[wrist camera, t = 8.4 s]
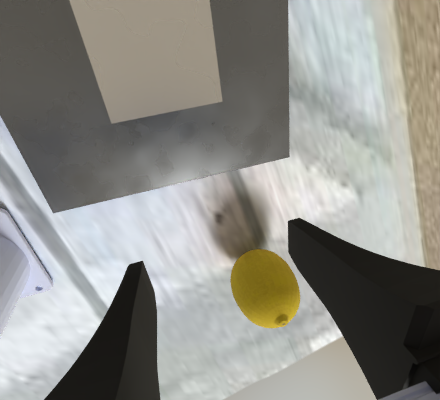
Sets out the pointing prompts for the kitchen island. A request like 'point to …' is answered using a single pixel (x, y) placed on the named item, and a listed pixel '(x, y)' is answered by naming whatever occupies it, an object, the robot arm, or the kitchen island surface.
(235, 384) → the kitchen island surface
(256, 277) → the lemon
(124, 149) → the stand base
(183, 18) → the post
